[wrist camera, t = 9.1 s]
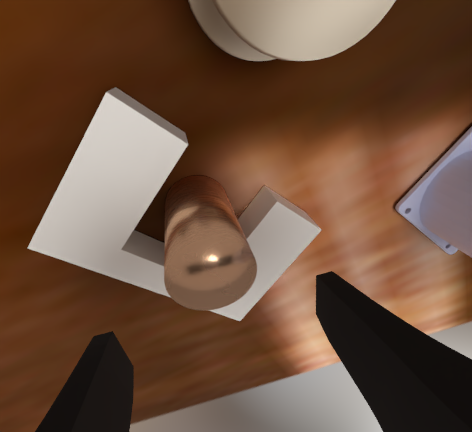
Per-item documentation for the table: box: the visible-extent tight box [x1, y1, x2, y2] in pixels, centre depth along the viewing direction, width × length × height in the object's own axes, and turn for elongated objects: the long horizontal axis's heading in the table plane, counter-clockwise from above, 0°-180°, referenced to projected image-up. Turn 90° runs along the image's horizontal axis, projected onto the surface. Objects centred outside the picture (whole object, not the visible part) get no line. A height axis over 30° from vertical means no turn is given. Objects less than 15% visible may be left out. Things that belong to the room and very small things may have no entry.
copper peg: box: [164, 175, 257, 310], centre depth 15 cm, size 4×4×7 cm
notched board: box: [28, 87, 321, 321], centre depth 17 cm, size 14×9×2 cm, turn 54°
